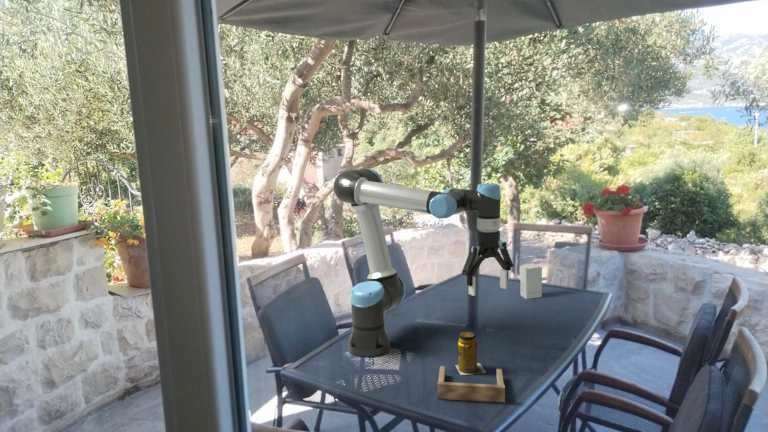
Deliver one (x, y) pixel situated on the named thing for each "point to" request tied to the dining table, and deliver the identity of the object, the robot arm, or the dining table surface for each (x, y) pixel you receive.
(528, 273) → the skincare box
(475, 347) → the condiment
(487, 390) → the bay
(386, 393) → the dining table surface
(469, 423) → the dining table surface
